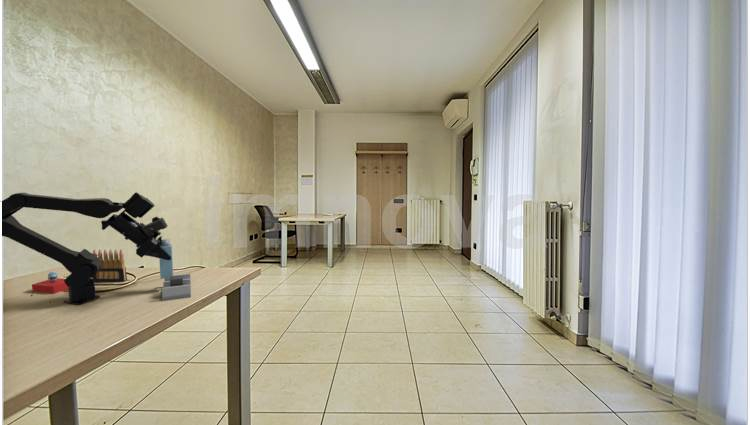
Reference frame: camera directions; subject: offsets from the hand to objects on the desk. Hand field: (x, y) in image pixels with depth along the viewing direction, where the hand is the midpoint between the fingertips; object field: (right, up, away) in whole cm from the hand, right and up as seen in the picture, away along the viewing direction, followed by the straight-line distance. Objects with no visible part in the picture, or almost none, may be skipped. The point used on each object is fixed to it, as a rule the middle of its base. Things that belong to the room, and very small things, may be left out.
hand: (170, 257), depth 116 cm
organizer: (+3, -12, 0) cm, 12 cm away
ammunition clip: (-27, -10, +7) cm, 30 cm away
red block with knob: (-38, -11, -2) cm, 40 cm away
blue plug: (-1, -7, 0) cm, 7 cm away
